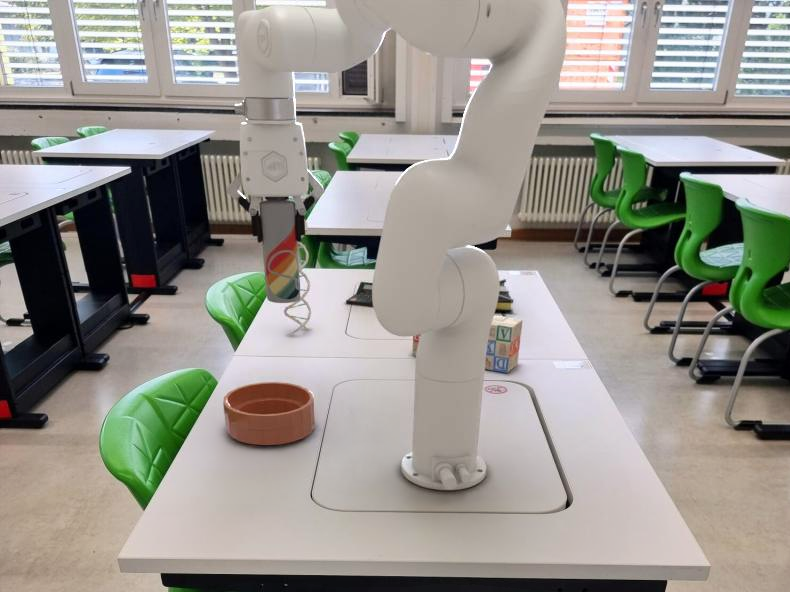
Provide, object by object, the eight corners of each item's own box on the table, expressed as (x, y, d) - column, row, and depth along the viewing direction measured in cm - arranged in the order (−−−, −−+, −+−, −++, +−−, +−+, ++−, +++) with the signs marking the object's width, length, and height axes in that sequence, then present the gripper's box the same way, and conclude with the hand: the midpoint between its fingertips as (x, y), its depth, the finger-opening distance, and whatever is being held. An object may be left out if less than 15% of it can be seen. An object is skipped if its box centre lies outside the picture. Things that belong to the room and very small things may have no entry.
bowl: (317, 446, 115) (316, 413, 112) (225, 450, 113) (221, 417, 110) (311, 410, 127) (310, 380, 124) (228, 414, 124) (224, 383, 122)
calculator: (346, 303, 185) (346, 291, 183) (361, 293, 194) (361, 281, 193) (381, 307, 183) (381, 295, 181) (394, 296, 192) (395, 284, 191)
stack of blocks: (518, 365, 149) (525, 303, 142) (507, 374, 144) (514, 311, 138) (424, 347, 157) (426, 288, 150) (411, 355, 152) (413, 295, 146)
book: (442, 290, 199) (443, 271, 196) (504, 292, 198) (506, 273, 196) (444, 312, 180) (446, 291, 178) (513, 314, 180) (515, 294, 177)
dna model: (299, 326, 168) (291, 183, 152) (318, 332, 164) (313, 186, 148) (277, 333, 163) (267, 185, 147) (297, 339, 160) (289, 189, 144)
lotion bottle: (294, 304, 120) (286, 170, 110) (261, 302, 121) (250, 168, 111) (305, 296, 125) (298, 166, 115) (273, 294, 126) (264, 165, 116)
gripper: (210, 112, 104) (224, 246, 114) (329, 113, 107) (334, 244, 116) (213, 111, 111) (226, 237, 120) (326, 111, 113) (330, 235, 123)
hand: (279, 239), depth 118 cm, fingers closed on lotion bottle, 5 cm apart
